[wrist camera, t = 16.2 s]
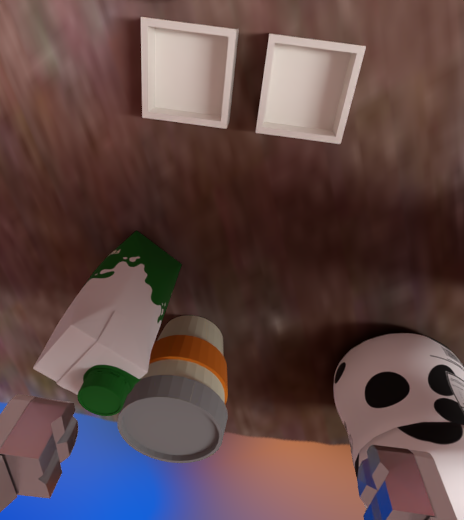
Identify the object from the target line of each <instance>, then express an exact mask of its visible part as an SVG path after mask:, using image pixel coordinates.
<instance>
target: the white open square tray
mask: <svg viewBox="0 0 464 520" xmlns="http://www.w3.org/2000/svg"><path fill="white" fill-rule="evenodd" d="M365 48H366V46H362V45H356V44H349V43H341V42H333V41H326V40H318V39H310V38H303V37H295V36H287V35H280V34H272V33H269V39H268V46H267V53H266V61H265V68H264V75H263V82H262V89H261V96H260V103H259V111H258V118H257V125H256V133H262V134H269V135H276V136H284V137H291V138H299V139H306V140H314V141H321V142H329V143H336V144H341V140H342V136H343V133H344V129H345V125H346V121H347V117H348V113H349V110H350V106H351V102H352V98H353V94H354V90H355V87H356V83H357V79H358V75H359V71H360V67H361V64H362V60H363V56H364V52H365Z"/></svg>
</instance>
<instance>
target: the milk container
mask: <svg viewBox="0 0 464 520" xmlns="http://www.w3.org/2000/svg"><path fill="white" fill-rule="evenodd" d="M333 388H334V400H335V405H336V408H337V411H338V414H339V416H340V418H341V420H342V422H343V424H344V426H345V428H346V430H347V432H348V436H349V441H350V447H351V453H352V459H353V465H354V468H355V472H356V476H357V477H358V468H359V466H360V464H361V462H362V461H363V460H365V459H367V458H368V456H367V450H368V448H369V446H371V445H379V446H388V447H396V448H404V449H408V450H415V451H423V452H428V453H430V454H431V455H432V457H433V458H434V461H435V463H436V466H437V469H438V471H439V474H440V476H441V479H442V481H443V484H444V487H445V489H446V492H447V494H448V497H449V499H450V502H451V505H452V507H453V510H454V512H455V515H456V517H457V520H464V366H463V364H462V363H461V362H460V360H459V359H458V358H457V357H456V356H455V355H454V354H453V353H452V351H451V350H450V349H448V348H447V347H446V346H445V345H443V344H442V343H440V342H438V341H436V340H434V339H432V338H430V337H427V336H424V335H420V334H415V333H388V334H383V335H379V336H376V337H372V338H370V339H367V340H365V341H363V342H361V343H360V344H358V345H356V346H354V347H353V348H352V349H350V350H349V351H348V352H347V353H346V354H345V356H344V357H343V358H342V359H341V361H340V362H339V364H338V366H337V368H336V371H335V375H334V386H333ZM364 505H365V504H364ZM365 507H366V509H367V506H366V505H365Z"/></svg>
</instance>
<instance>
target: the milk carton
mask: <svg viewBox="0 0 464 520" xmlns="http://www.w3.org/2000/svg"><path fill="white" fill-rule="evenodd" d="M181 266H182V264H181V263H179V262H178V261H177V260H175V259H174V258H173V257H171V256H170V255H169V254H167V253H166V252H165V251H163V250H162V249H161V248H159V247H158V246H157V245H155V244H154V243H153V242H151V241H150V240H149V239H148V238H146V237H145V236H144V235H142V234H141V233H140V232H138V231H135V232H134V233H133V234H132V235H131V236H130V237H129V238H127V239H126V240H125V241H124V242H123V243H122V244H121V245H120V246H118V247H117V248H116V249H115V250H114V251H113V252H112V253H111V254H109V255H108V256H107V257H106V258H105V260H104V261H103V262H102V263H101V264H100V265H99V266H98V267H97V269H96V270H95V271H94V272H93V274H92V275H91V277H90V278H89V279H88V281H87V282H86V284H85V285H84V286H83V288H82V289H81V291H80V292H79V293H78V295H77V296H76V298H75V299H74V300H73V302H72V303H71V305H70V306H69V308H68V309H67V311H66V312H65V314H64V315H63V317H62V318H61V320H60V321H59V323H58V324H57V326H56V328H55V330H54V332H53V333H52V335H51V337H50V339H49V341H48V342H47V344H46V346H45V348H44V349H43V351H42V353H41V355H40V357H39V358H38V360H37V362H36V364H35V365H34V367H33V369H35V370H37V371H38V372H40V373H42V374H44V375H46V376H47V377H49V378H51V379H53V380H54V381H56V382H57V384H58V385H59V386H61V387H63V388H65V389H68V390H70V391H72V392H73V393H75V394H77V395H78V401H79V403H80V404H81V405H82V406H83V407H84V408H85V409H86V410H88V411H90V412H92V413H94V414H97V415H102V416H111V415H115V414H117V413H119V412H120V411H121V409H122V408H123V405H124V403H125V400H126V398H127V395H128V394H129V393H130V392H131V391H132V389H133V387H134V386H135V384H136V383H138V382H139V381H140V380H141V377H143V376H144V375H145V374H146V373H147V372H148V368H149V361H150V355H151V350H152V347H153V345H154V342H155V339H156V336H157V334H158V331H159V328H160V325H161V323H162V320H163V317H164V314H165V311H166V309H167V306H168V303H169V300H170V298H171V295H172V292H173V289H174V286H175V283H176V280H177V277H178V274H179V271H180V268H181Z"/></svg>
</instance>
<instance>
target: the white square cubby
mask: <svg viewBox="0 0 464 520" xmlns="http://www.w3.org/2000/svg"><path fill="white" fill-rule="evenodd" d="M238 33H239V29H234V28H226V27H218V26H211V25H203V24H195V23H188V22H180V21H173V20H165V19H157V18H149V17H141V71H142V118H150V119H157V120H164V121H172V122H179V123H187V124H194V125H202V126H209V127H217V128H224V129H227V127H228V124H229V121H230V111H231V101H232V91H233V82H234V72H235V62H236V52H237V43H238Z"/></svg>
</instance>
